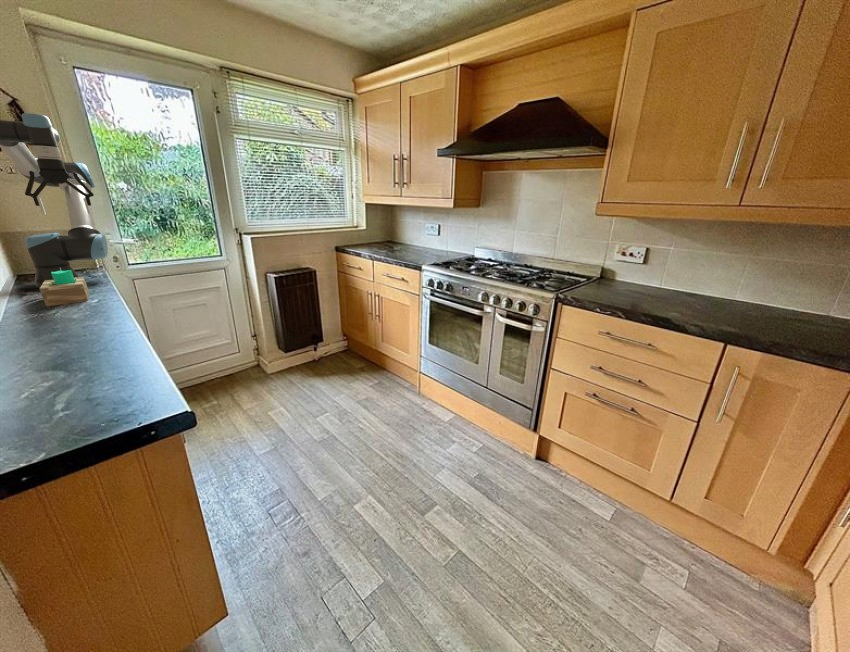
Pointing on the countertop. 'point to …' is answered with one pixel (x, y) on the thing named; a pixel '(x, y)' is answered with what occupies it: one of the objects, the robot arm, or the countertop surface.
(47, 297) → the box
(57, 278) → the candle
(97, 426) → the countertop surface
